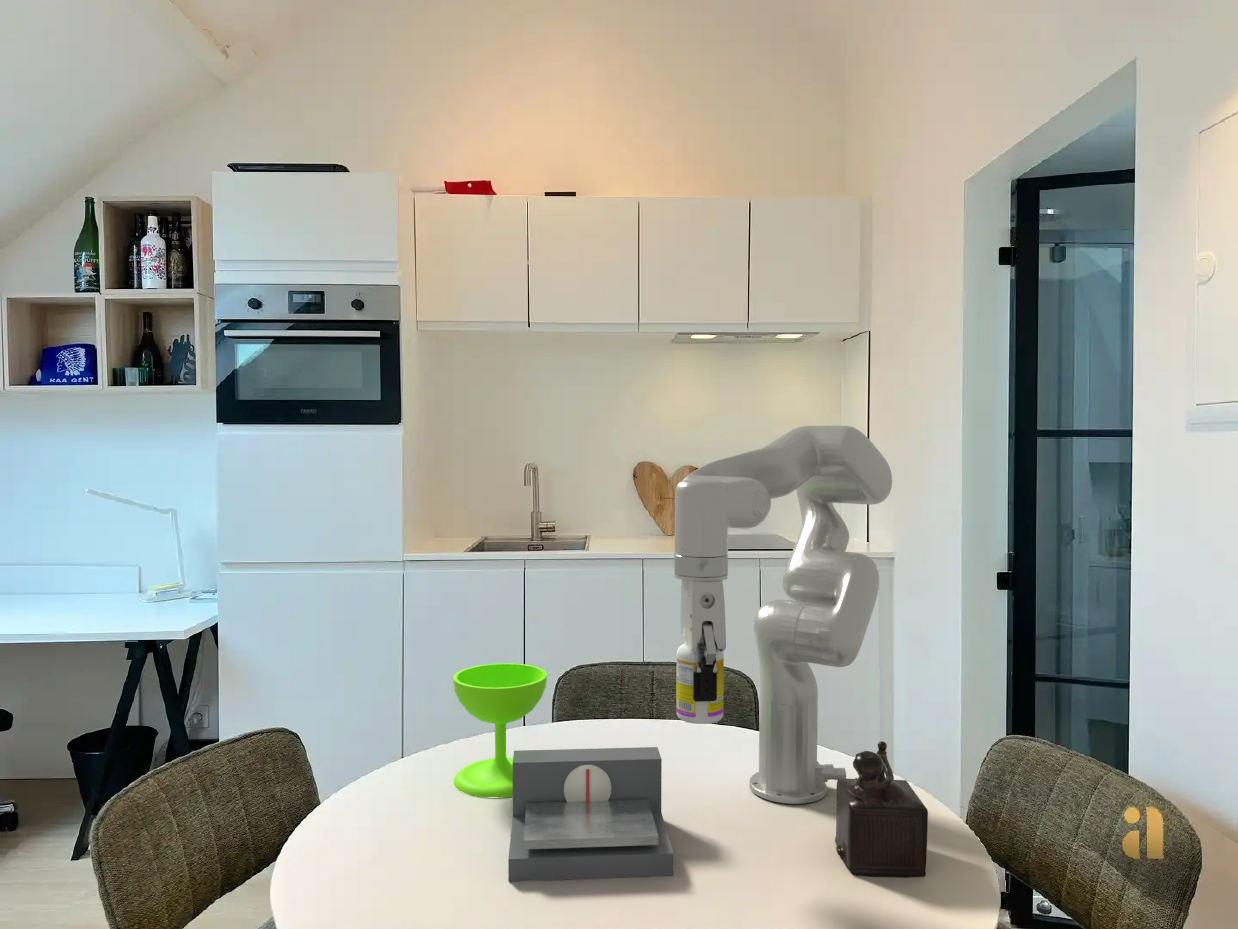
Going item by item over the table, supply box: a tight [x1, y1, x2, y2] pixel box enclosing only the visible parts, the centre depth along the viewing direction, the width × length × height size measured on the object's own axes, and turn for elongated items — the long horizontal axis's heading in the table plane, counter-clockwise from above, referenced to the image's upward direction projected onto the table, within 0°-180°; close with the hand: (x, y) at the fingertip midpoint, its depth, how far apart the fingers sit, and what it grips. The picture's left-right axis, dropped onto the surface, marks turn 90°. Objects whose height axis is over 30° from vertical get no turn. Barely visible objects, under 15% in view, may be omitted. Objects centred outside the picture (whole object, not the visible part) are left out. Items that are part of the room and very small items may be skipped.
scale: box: [507, 746, 674, 882], centre depth 126 cm, size 22×18×11 cm
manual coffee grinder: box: [834, 740, 929, 878], centre depth 120 cm, size 16×11×18 cm
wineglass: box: [452, 662, 548, 798], centre depth 151 cm, size 16×16×18 cm
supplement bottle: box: [675, 629, 725, 725], centre depth 125 cm, size 7×7×13 cm
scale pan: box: [524, 799, 658, 849], centre depth 124 cm, size 18×12×1 cm, turn 94°
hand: (699, 692), depth 125 cm, fingers closed on supplement bottle, 6 cm apart
